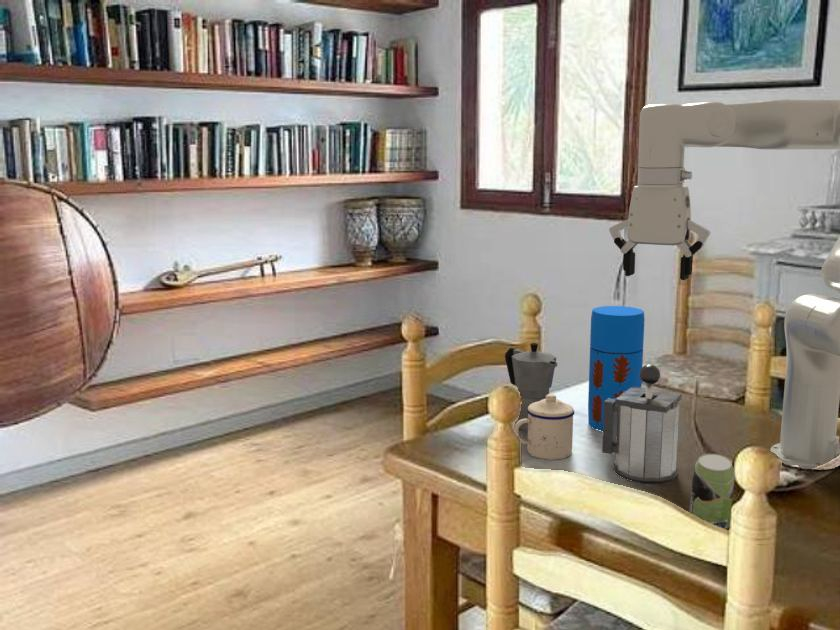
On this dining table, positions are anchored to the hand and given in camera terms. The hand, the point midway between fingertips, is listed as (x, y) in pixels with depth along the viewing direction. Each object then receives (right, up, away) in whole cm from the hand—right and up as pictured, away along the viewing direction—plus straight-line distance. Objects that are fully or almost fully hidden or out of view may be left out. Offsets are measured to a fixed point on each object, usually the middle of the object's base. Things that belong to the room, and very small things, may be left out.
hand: (656, 277), depth 148 cm
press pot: (-1, -35, +8) cm, 36 cm away
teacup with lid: (-18, -34, +17) cm, 42 cm away
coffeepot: (-18, -30, +35) cm, 49 cm away
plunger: (0, -33, +7) cm, 34 cm away
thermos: (0, -30, +33) cm, 45 cm away
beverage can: (+4, -40, -16) cm, 44 cm away
